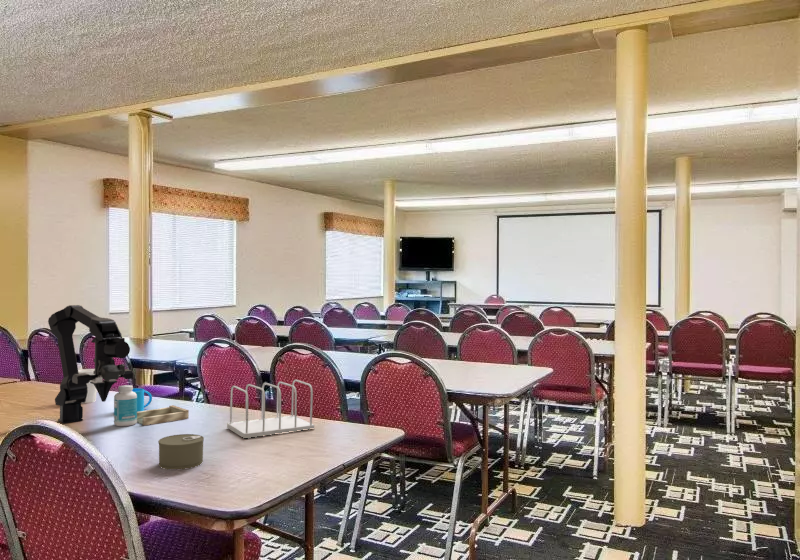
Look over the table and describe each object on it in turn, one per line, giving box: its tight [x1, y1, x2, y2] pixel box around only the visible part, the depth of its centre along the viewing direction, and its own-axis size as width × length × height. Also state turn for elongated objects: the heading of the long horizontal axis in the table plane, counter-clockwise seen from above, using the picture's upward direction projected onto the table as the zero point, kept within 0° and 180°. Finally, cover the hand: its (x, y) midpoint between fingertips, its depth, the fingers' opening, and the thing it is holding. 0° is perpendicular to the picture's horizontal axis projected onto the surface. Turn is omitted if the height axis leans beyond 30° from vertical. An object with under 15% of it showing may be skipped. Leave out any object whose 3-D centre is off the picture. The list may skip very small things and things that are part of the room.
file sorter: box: [226, 379, 315, 439], centre depth 217 cm, size 25×17×16 cm
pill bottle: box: [113, 384, 138, 427], centre depth 222 cm, size 8×7×14 cm
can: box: [158, 433, 205, 470], centre depth 176 cm, size 12×12×7 cm
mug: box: [132, 387, 153, 412], centre depth 246 cm, size 12×8×8 cm
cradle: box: [136, 405, 190, 426], centre depth 231 cm, size 16×12×3 cm
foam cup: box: [78, 368, 98, 404], centre depth 262 cm, size 10×9×13 cm
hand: (103, 401), depth 217 cm, fingers closed
